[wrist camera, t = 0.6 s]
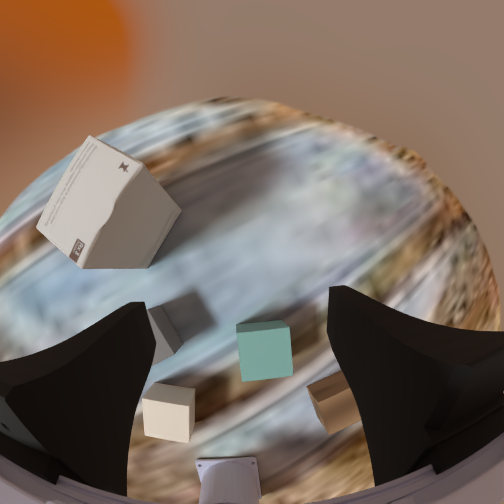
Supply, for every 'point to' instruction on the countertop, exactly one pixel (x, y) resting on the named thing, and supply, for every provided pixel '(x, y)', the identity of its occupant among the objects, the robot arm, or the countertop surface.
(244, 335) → the teal cube
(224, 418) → the countertop surface
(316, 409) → the walnut cube
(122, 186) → the skincare box
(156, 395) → the offwhite cube
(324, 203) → the countertop surface
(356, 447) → the countertop surface
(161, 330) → the charcoal cube
